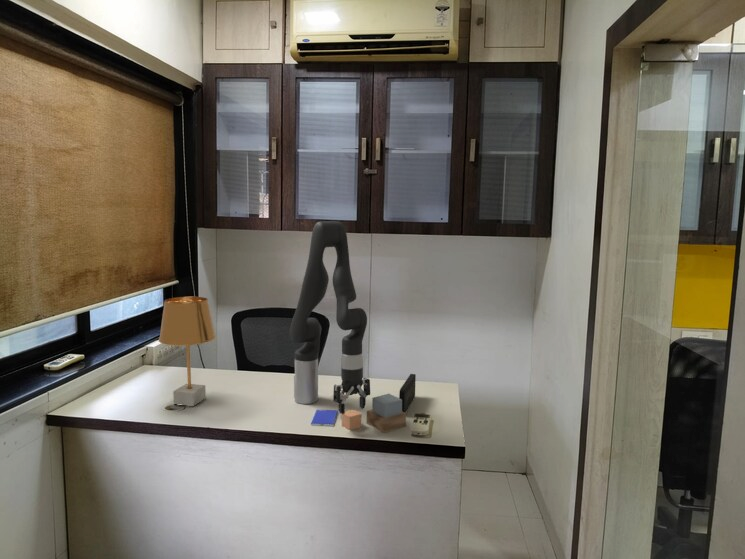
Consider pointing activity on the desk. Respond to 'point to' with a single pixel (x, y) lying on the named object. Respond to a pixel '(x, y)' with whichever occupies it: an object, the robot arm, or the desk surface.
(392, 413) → the slate middle block
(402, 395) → the nameplate
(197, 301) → the lamp
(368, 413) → the walnut base block
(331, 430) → the desk surface
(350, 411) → the terracotta cube
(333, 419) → the hard drive
